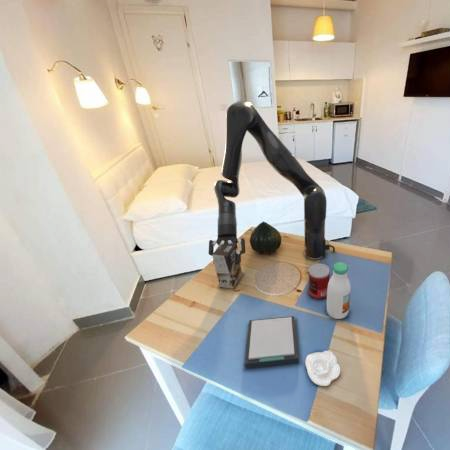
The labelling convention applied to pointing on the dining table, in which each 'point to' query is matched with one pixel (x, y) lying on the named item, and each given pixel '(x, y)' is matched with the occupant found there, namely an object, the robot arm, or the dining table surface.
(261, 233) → the squash
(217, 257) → the coffee box
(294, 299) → the dining table surface
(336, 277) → the milk bottle
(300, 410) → the dining table surface
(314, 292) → the canned food
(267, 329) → the scale
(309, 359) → the rose
